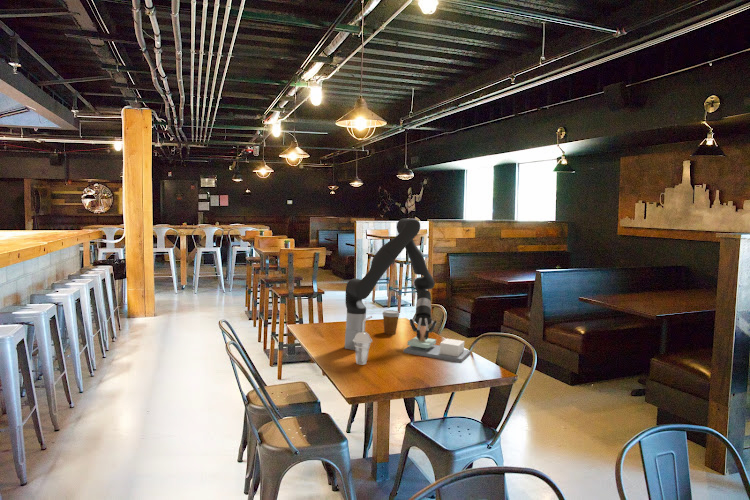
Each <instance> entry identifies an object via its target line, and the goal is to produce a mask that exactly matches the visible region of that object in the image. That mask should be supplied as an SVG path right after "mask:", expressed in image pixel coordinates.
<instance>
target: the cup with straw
mask: <svg viewBox="0 0 750 500" xmlns="http://www.w3.org/2000/svg"><path fill="white" fill-rule="evenodd" d="M372 318H373V316H372V315H371V316H369V317H366V319H364V320H363V327H362V331H361V332H358V333H357V334H356V336H355V338H353V342H354V345H355V350H354V353H355V364H356V365H362V366H363V365H367V361H368V358H369V350H370V346H371V343H373V339H372V338H371V336H370V334H369V332H367V331H365V332H364V322H365V323H366V321H368V320H370V319H372ZM365 320H366V321H365Z"/></svg>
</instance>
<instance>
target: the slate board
mask: <svg viewBox="0 0 750 500" xmlns="http://www.w3.org/2000/svg"><path fill="white" fill-rule="evenodd" d="M471 351H472V350H469V349H464V352H462V353H461V354H460V355H459V356H452V355H446V354H440V344H439V345H438V344H434V345H433V346H431V347H430V348H422V347H416V346H409V345H408V346H407V347H406V348H404V349H403V352H402V353H404V354H409V355H415V356H419V357H420V356H421V357H426V358H427V357H428V358H431V359H437V360H438V359H439V360H445V361H451V362H457V363H462V362H463V361H464V360H465V359H467V358H468V357H469V356H471V353H472V352H471Z"/></svg>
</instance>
